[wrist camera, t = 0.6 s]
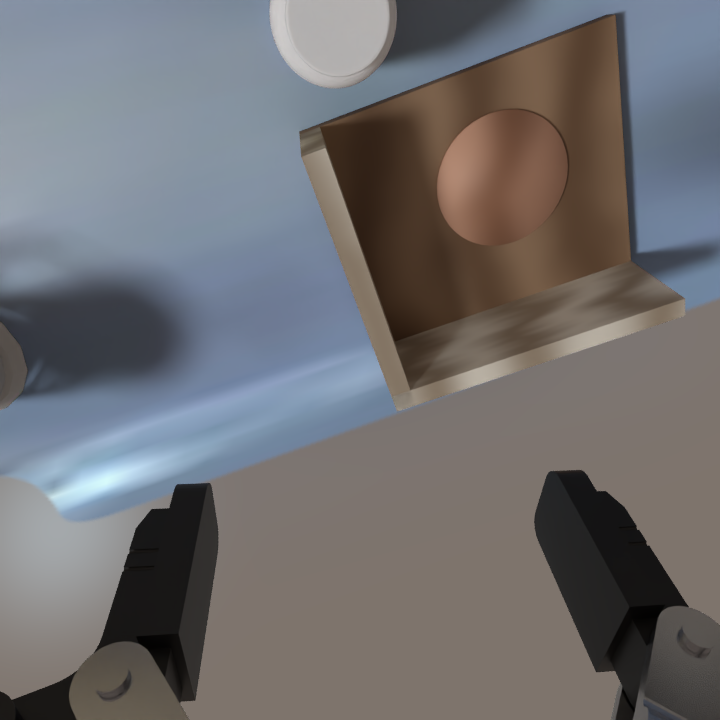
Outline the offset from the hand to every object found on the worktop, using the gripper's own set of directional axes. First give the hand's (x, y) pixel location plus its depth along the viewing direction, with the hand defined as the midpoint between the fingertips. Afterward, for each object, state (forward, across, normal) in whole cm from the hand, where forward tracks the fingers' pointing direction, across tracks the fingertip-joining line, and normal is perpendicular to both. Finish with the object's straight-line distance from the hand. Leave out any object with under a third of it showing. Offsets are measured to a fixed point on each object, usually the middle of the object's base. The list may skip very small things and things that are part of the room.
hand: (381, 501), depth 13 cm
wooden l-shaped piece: (+25, -9, +1) cm, 26 cm away
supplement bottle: (+25, 0, -9) cm, 27 cm away
